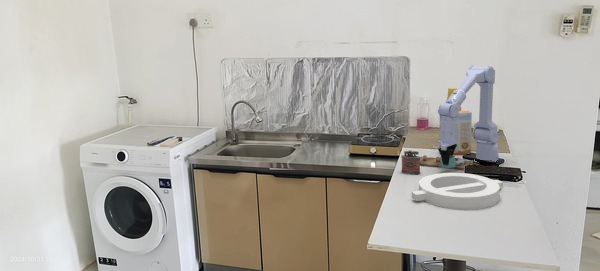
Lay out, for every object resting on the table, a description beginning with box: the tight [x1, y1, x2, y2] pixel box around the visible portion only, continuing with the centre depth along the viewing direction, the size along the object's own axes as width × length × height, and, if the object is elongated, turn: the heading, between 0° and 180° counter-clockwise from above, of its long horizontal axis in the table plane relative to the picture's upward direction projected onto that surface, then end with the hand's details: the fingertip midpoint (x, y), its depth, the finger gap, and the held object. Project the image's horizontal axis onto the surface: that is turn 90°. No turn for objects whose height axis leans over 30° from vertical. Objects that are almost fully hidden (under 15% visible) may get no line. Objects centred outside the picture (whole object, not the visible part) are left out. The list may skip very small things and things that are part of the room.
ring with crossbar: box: [411, 172, 504, 210], centre depth 170 cm, size 28×28×5 cm
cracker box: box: [439, 110, 473, 156], centre depth 224 cm, size 14×6×21 cm, turn 84°
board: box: [420, 154, 472, 171], centre depth 210 cm, size 23×12×4 cm, turn 59°
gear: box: [439, 155, 456, 169], centre depth 196 cm, size 6×6×4 cm
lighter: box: [400, 149, 421, 175], centre depth 199 cm, size 8×3×10 cm, turn 62°
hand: (447, 162), depth 197 cm, fingers closed on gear, 6 cm apart
